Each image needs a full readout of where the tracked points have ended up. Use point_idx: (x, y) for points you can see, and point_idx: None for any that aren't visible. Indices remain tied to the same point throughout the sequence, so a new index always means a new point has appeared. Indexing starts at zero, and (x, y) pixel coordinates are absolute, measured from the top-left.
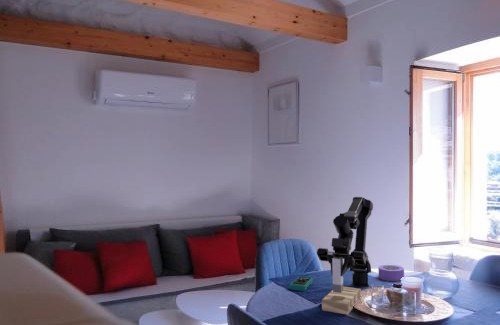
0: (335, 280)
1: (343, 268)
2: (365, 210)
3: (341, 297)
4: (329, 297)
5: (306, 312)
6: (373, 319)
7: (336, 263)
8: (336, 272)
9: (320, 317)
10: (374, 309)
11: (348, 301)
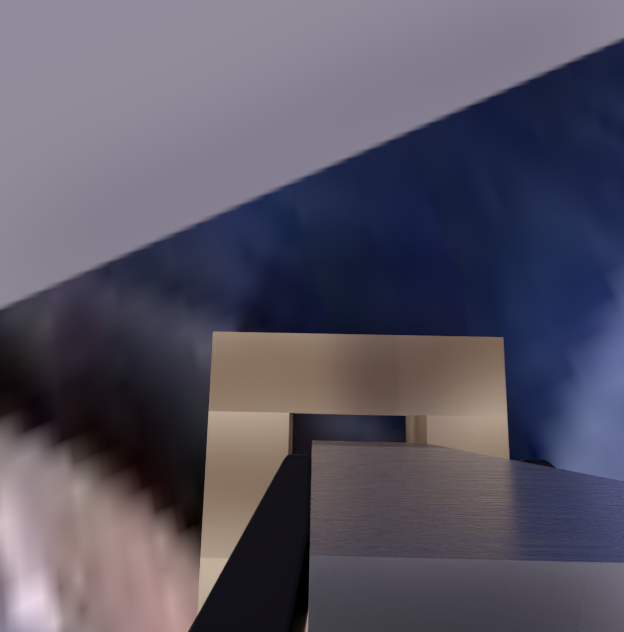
0: (415, 449)
1: (239, 601)
2: None
3: None
4: None
5: (568, 248)
6: (5, 329)
7: (520, 501)
8: (428, 465)
9: (420, 192)
10: (19, 593)
11: (219, 410)
